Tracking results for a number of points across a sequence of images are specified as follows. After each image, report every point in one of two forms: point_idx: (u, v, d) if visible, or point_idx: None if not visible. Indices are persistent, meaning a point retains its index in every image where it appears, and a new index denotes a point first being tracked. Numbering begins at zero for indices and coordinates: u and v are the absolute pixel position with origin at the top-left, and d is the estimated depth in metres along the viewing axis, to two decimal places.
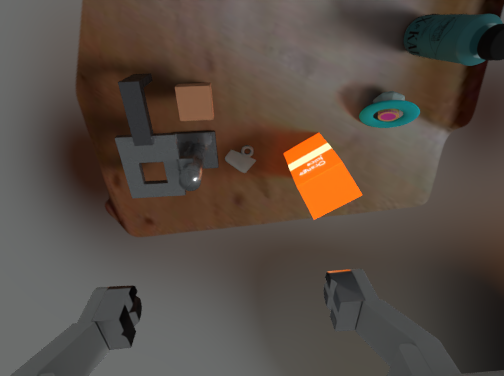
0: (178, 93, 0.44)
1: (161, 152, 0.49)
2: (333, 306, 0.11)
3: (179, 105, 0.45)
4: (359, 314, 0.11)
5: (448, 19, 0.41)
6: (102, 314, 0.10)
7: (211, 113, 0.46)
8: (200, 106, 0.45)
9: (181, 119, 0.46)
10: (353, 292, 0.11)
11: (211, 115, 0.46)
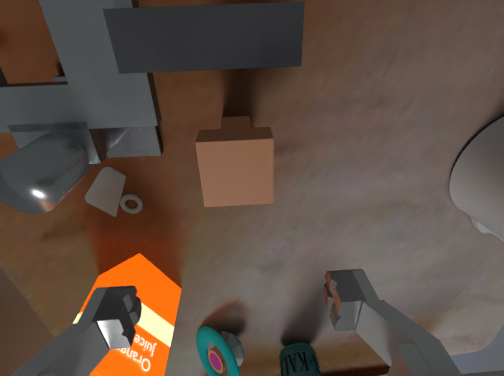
0: (260, 144, 0.20)
1: (98, 83, 0.17)
2: (333, 306, 0.11)
3: (232, 144, 0.20)
4: (359, 314, 0.11)
5: None
6: (102, 314, 0.10)
7: (217, 204, 0.22)
8: (232, 186, 0.21)
9: (199, 145, 0.19)
10: (353, 292, 0.11)
11: (213, 204, 0.22)
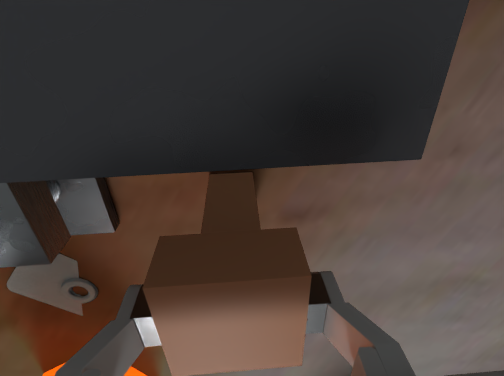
0: (283, 285, 0.09)
1: None
2: None
3: (224, 288, 0.09)
4: (325, 316, 0.11)
5: None
6: (138, 312, 0.10)
7: (197, 372, 0.12)
8: (224, 348, 0.11)
9: (152, 293, 0.09)
10: (319, 295, 0.11)
11: (188, 372, 0.12)
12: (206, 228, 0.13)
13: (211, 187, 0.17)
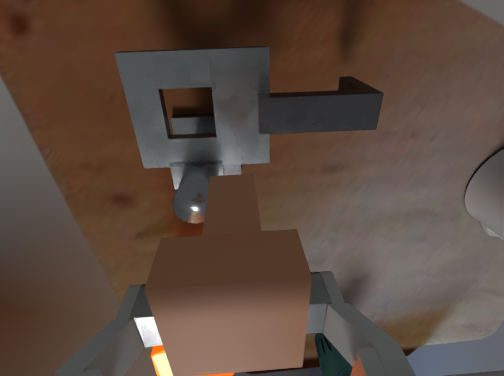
0: (284, 287, 0.09)
1: (236, 136, 0.26)
2: None
3: (225, 289, 0.09)
4: (326, 316, 0.11)
5: None
6: (138, 312, 0.10)
7: (198, 373, 0.12)
8: (225, 349, 0.11)
9: (154, 294, 0.09)
10: (319, 295, 0.11)
11: (189, 373, 0.12)
12: (207, 230, 0.14)
13: (212, 189, 0.17)
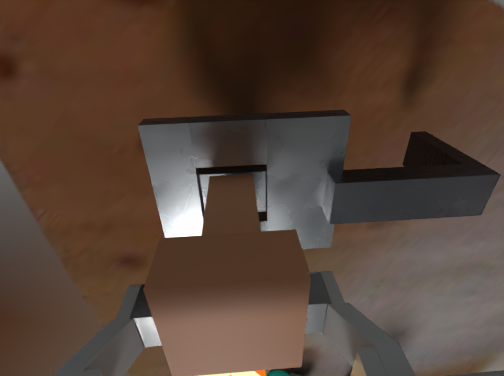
0: (283, 287, 0.09)
1: (292, 220, 0.20)
2: None
3: (224, 289, 0.09)
4: (326, 316, 0.11)
5: None
6: (138, 311, 0.10)
7: (197, 373, 0.12)
8: (225, 349, 0.11)
9: (153, 294, 0.09)
10: (319, 295, 0.11)
11: (189, 373, 0.12)
12: (206, 230, 0.14)
13: (211, 189, 0.17)
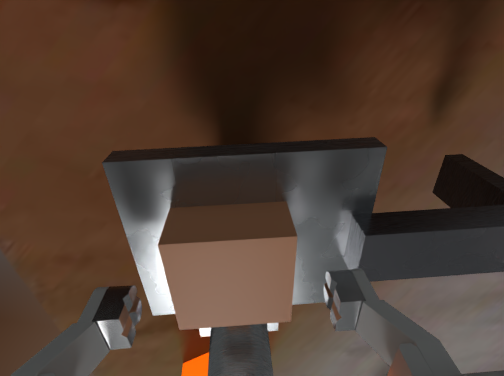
0: (274, 244, 0.11)
1: (306, 271, 0.16)
2: (333, 306, 0.11)
3: (225, 246, 0.11)
4: (359, 314, 0.11)
5: None
6: (102, 314, 0.10)
7: (200, 326, 0.13)
8: (225, 302, 0.13)
9: (166, 249, 0.11)
10: (353, 292, 0.11)
11: (193, 326, 0.13)
12: None
13: None
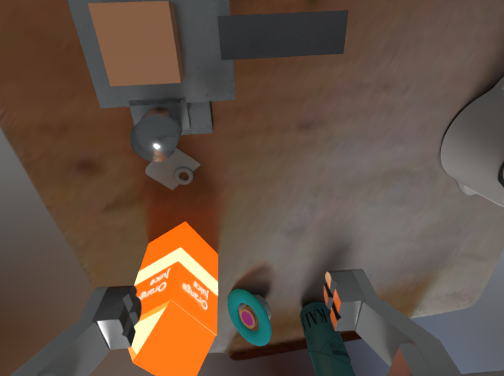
0: (156, 7, 0.20)
1: (198, 68, 0.24)
2: (333, 306, 0.11)
3: (127, 6, 0.19)
4: (359, 314, 0.11)
5: (345, 349, 0.48)
6: (101, 315, 0.10)
7: (123, 83, 0.22)
8: (135, 60, 0.21)
9: (92, 7, 0.19)
10: (353, 292, 0.11)
11: (119, 83, 0.22)
12: None
13: None
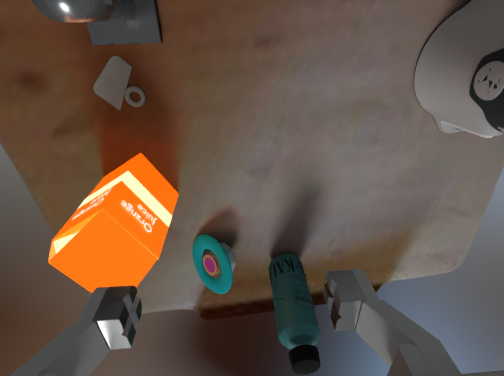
0: None
1: None
2: (333, 306, 0.11)
3: None
4: (359, 314, 0.11)
5: (309, 297, 0.45)
6: (102, 314, 0.10)
7: None
8: None
9: None
10: (353, 292, 0.11)
11: None
12: None
13: None
